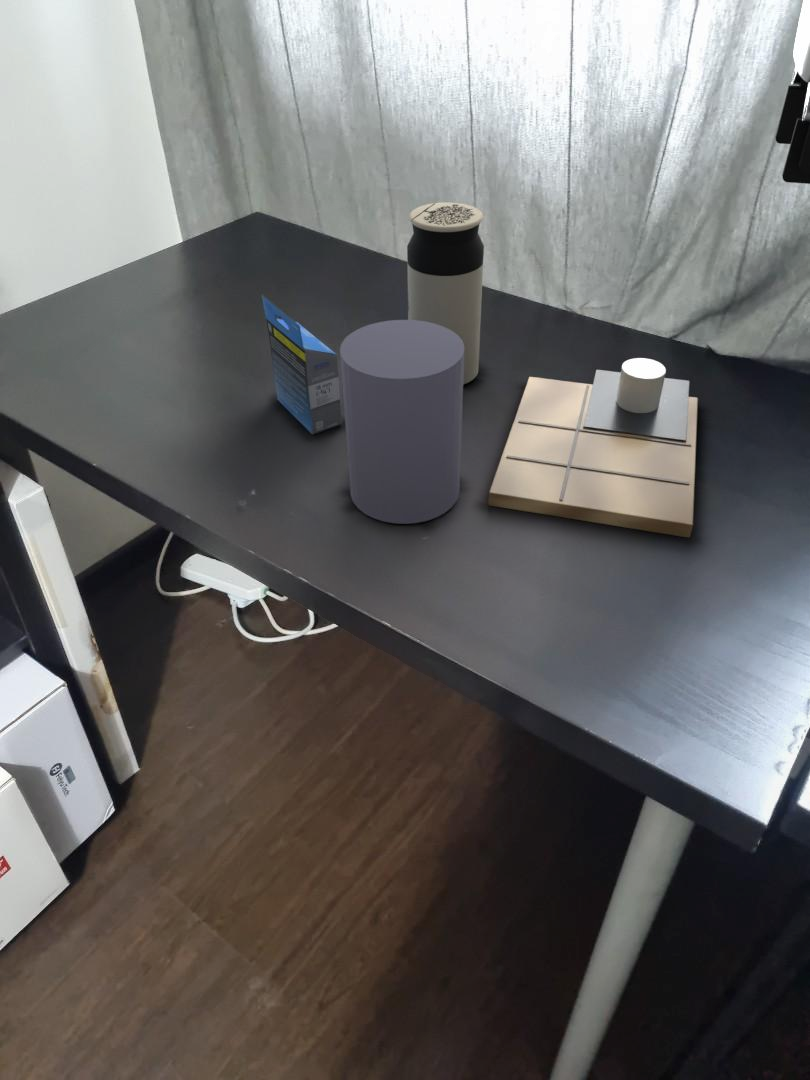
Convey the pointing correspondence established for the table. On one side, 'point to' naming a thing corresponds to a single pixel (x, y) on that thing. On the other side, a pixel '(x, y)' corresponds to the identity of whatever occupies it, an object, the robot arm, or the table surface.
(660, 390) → the white squat cylinder
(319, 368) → the blue product box
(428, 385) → the container
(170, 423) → the table surface
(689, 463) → the board
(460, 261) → the travel mug
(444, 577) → the table surface
